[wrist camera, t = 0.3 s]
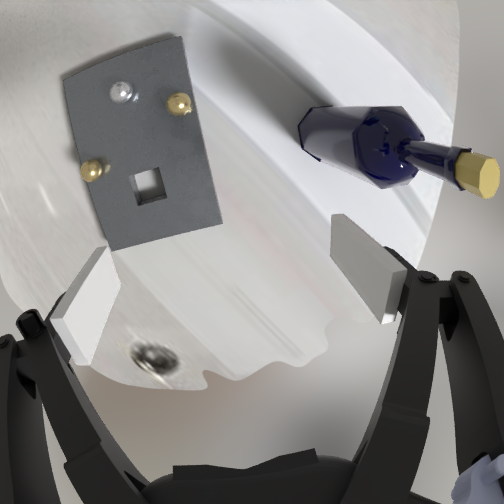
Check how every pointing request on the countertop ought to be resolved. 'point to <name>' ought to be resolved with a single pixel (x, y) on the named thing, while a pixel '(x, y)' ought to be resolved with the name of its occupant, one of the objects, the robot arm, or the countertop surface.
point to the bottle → (391, 149)
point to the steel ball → (121, 92)
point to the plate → (143, 145)
